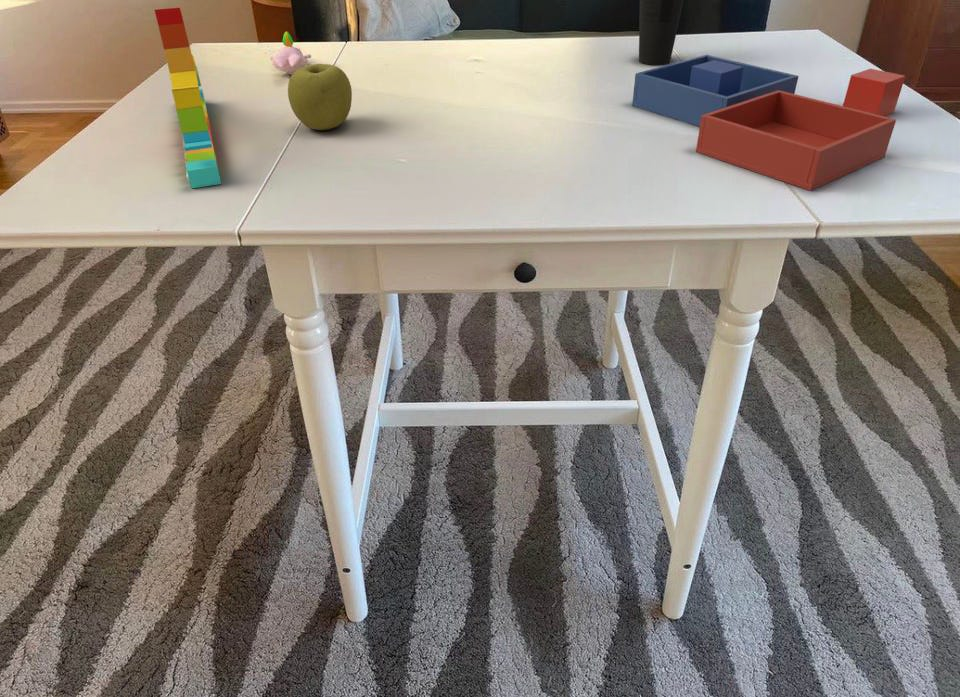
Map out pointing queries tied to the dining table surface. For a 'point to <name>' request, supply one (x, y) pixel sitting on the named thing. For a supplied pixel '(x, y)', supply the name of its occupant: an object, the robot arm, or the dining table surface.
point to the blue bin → (678, 100)
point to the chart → (188, 100)
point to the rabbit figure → (289, 57)
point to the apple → (320, 96)
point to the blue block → (717, 77)
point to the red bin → (795, 138)
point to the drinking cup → (658, 30)
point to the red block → (874, 91)
